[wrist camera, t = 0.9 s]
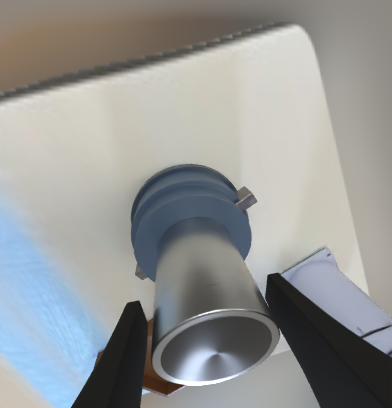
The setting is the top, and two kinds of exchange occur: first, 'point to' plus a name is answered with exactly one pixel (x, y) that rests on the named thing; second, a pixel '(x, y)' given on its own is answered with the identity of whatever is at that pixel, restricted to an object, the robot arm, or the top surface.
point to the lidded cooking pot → (186, 210)
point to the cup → (207, 308)
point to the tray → (154, 373)
